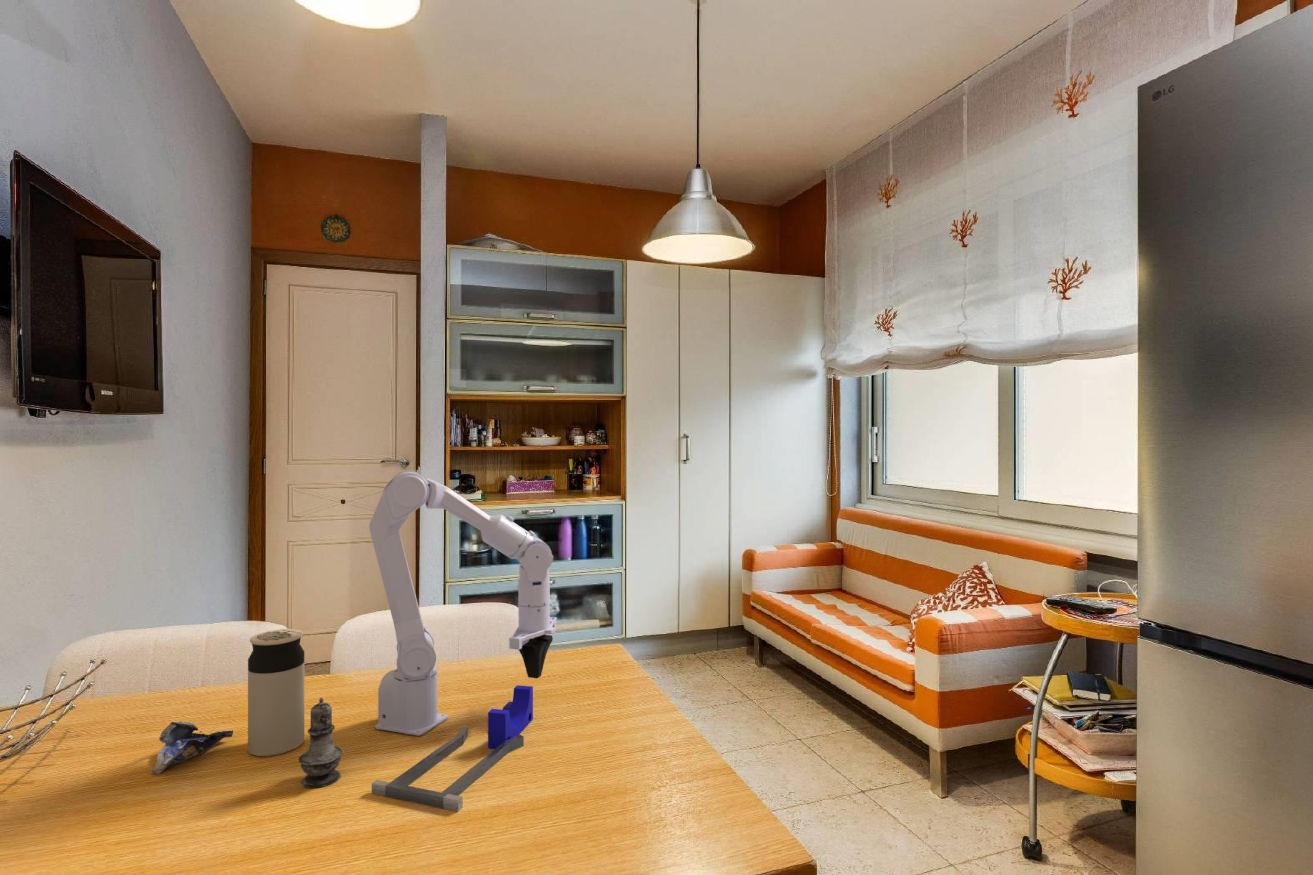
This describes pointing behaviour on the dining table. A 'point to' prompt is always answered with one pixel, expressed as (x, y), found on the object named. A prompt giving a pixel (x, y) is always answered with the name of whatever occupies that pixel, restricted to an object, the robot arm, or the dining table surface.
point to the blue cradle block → (510, 717)
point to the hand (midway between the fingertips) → (534, 676)
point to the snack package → (184, 743)
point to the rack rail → (451, 794)
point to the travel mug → (275, 692)
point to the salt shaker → (321, 750)
